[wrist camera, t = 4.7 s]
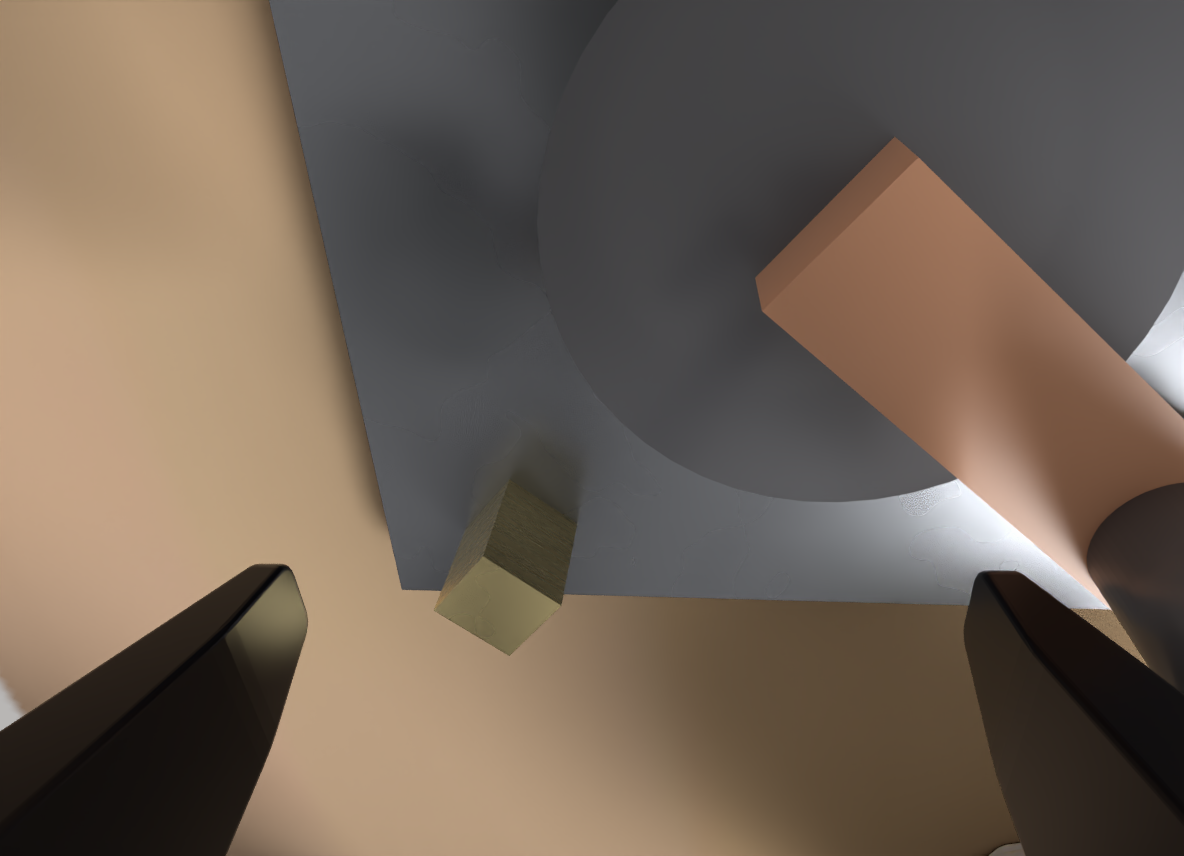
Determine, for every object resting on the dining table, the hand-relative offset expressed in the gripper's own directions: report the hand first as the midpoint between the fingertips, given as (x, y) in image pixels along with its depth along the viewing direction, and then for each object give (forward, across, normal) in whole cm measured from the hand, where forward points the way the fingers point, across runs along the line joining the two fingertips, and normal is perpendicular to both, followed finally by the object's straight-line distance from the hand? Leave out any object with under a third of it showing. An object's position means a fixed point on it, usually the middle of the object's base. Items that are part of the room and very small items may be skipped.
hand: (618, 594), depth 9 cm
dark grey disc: (+3, -4, -3) cm, 5 cm away
